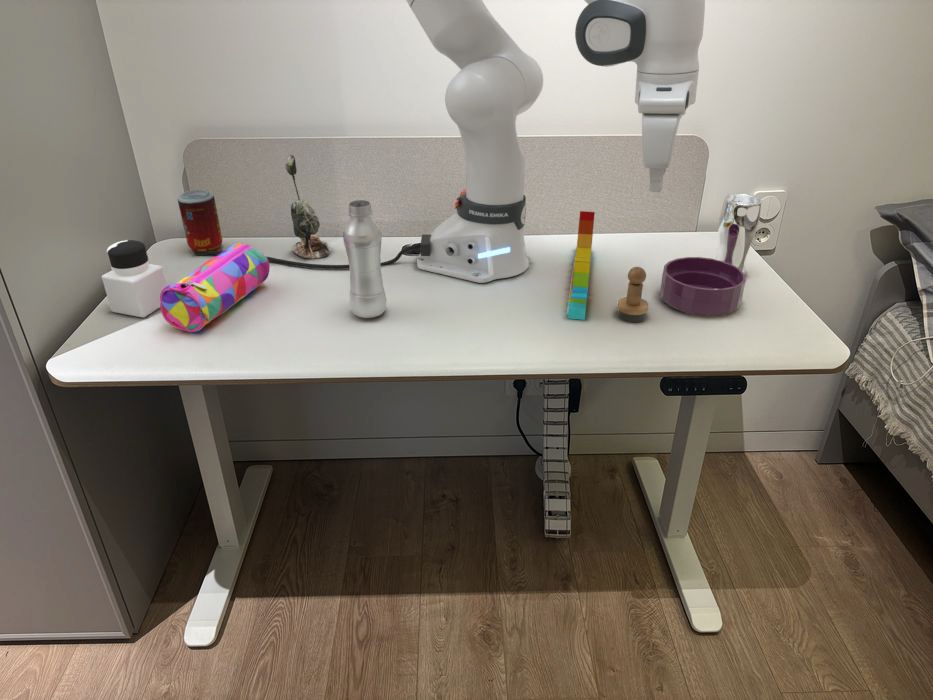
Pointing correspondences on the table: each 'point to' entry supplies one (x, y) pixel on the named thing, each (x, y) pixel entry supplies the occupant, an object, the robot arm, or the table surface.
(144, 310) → the medicine bottle
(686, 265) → the bowl
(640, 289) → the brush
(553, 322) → the table surface
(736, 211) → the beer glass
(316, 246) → the plant with pod
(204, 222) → the soda can
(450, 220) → the robot arm
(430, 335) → the table surface
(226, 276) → the pencil case
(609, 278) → the table surface
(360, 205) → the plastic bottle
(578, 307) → the chart
